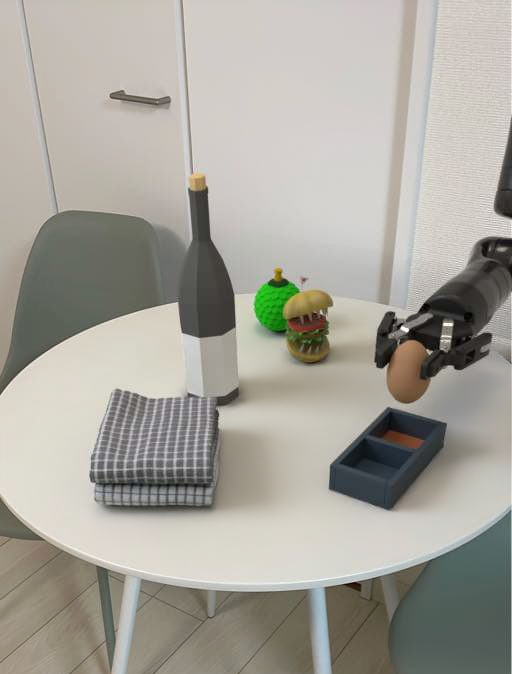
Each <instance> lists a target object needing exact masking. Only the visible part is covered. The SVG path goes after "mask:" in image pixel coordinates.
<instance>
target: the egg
mask: <svg viewBox="0 0 512 674" xmlns="http://www.w3.org/2000/svg"><path fill="white" fill-rule="evenodd" d="M429 355H430V354H429V352H428V349H426V348H425V347H424V346H423V345H422V344H421V343H419V342H417V341H414V340H410V341H406V342H405V343H403V344H401V345H400V346H399V347H398V348H397V349H396V351H395V352H394V354H393V355H392V357H391V359H390V361H389V363H388V364H387V367H386V368H387V369H386V379H385V380H386V381H385V382H386V386H387V389H388V392H389V393H390V395H391V396H392V397H393V399H394V400H395V401H397V403H400V404H406V405H408V404H414V403H415V402H417V401H418V400H420V399H421V398H422V397H423V396H424V395H425V394H426V392H427V391H428V389H429V386H430V384H431V381H432V380H431V379H432V378H431V377H429V378H428V379H427V380H422V379H420V372H421V365H422V363H423V361H424V360H425V359H426V358H427V357H428V356H429Z"/></svg>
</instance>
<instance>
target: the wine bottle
mask: <svg viewBox="0 0 512 674" xmlns="http://www.w3.org/2000/svg"><path fill="white" fill-rule="evenodd" d="M206 180H207V179H206V175H205V173H201V172H198V173H192V174H189V175H188V182H189V187H187V193H188V198H189V211H190V222H191V223H190V224H191V236H192V238H191V241H190V244H189V247H188V249H187V251H186V253H185V256H184V258H183V261H182V262H181V267H180V271H179V275H178V280H177V289H176V296H177V303H178V304H177V306H178V316H179V326H180V336H181V349H182V357H183V358H182V359H183V368H184V377H185V378H184V379H185V387H186V393H187V394H186V395H187V397H199V398H201V397H215V398H217V407H219V406H226V405H227V404H229V403H230V402H232V401H233V400H235V399H237V398H238V397H239V393H240V386H239V385H240V384H239V363H238V362H239V361H238V343H237V339H238V338H237V320H236V319H237V318H236V298H235V297H236V295H235V292H234V287H233V284H232V280H231V277H230V274H229V271H228V269H227V266H226V264H225V261H224V259H223V256H222V255H221V254H220V252H219V250H218V248H217V246H216V245H215V244H214V243H215V242H213V240H212V238H211V235H212V234H211V222H210V207H209V206H210V205H209V186H208V185H207V181H206Z"/></svg>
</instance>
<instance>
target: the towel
mask: <svg viewBox="0 0 512 674" xmlns="http://www.w3.org/2000/svg"><path fill="white" fill-rule="evenodd" d="M108 399H109V400H108V403H107V407H106V409H105V413H104V416H103V418H102V420H101V423H100V425H99V429H98V433H97V434H98V435H97V438H96V441H95V444H94V447H93V449H92V450H93V451H92V453H91V455H90V470H89V474H88V478H89V481H90V483H92V484H94V491H93V494H94V497H93V499H94V502H96V504H98V505H106V506H107V505H108V506H112V505H115V506H196V507H200V506H212V505H213V504H214V501H213V500H214V499H213V497H214V492H215V489H216V485H217V481H218V477H219V474H220V473H219V472H220V469H219V468H220V463H219V454H220V448H221V436H222V434H221V433H222V429H220V428H219V420H220V411H219V409H217V407H218V406H217V398H215V397H201V398H199V397H188V396H185V397H181V396H179V397H178V396H177V397H172V396H171V397H166V398H164V397H160V398H153V397H151V398H149V397H147V396H145V395H140V394H138V393H137V392H131V391H129V390H122V389H121V388H114V389H113V390H112V391H111V393H110V395H109V398H108Z"/></svg>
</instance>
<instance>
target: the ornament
mask: <svg viewBox="0 0 512 674" xmlns="http://www.w3.org/2000/svg"><path fill="white" fill-rule="evenodd" d="M283 272H284V270H283V268H281V267H276V268H274V270H273V273H274V278H271V279H269V281H267V282H265V283H263V284H261V287H260V288H259V289H258V290H257V293H255V295H254V301H253V306H254V308H253V312H254V314H255V318H256V319H257V320H258V323H260V324H261V325H262V326H263V327H265V328H266V329H267V330H271V331H275V332H281V331H285V330H286V328H285V324H286V322H287V321H289V319H285V318H284V316H283V309H284V305H285V304H286V302H287V301H288V300H289V299H290V298H291V297H293V296H294V295H296V294H298V293H300V292H301V291H300V289H299V287H297V286H296V284H295V283H294V282H291V281H289V280H288V278H285V277H283V276H282V274H283Z"/></svg>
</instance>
